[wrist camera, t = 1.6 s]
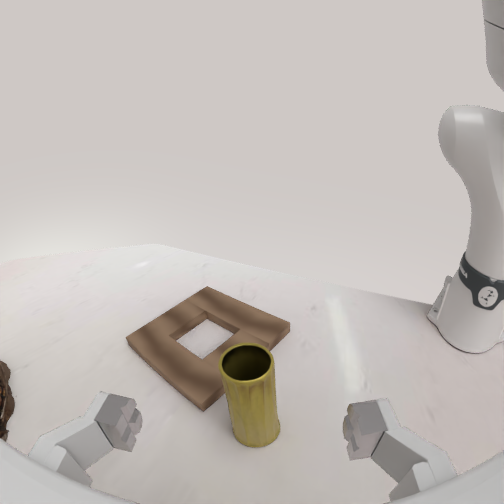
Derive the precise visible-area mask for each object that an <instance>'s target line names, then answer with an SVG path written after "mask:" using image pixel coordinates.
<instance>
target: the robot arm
mask: <svg viewBox="0 0 504 504" xmlns="http://www.w3.org/2000/svg"><path fill="white" fill-rule="evenodd" d="M482 6H483V15H484V25H485V36H486V57H487V58H486V59H487V67H488V70H489V72H490V75H491V76H492V78H493V80H494V81H495V82H496V84H497V85H498V86H499V87H500V88H501V89H502V90H503V91H504V0H482ZM438 136H439V143H440V147H441V150H442V152H443V154H444V156H445V158H446V160H447V161H448V163H449V164H450V165H451V166H452V167H453V168H454V169H455V171H456V172H457V173H458V174H459V176H460V177H461V179H462V180H463V182H464V184H465V186H466V189H467V191H468V194H469V198H470V202H471V212H472V215H471V227H470V234H469V240H468V245H467V249H466V252H465V253H464V254H463V257H462V259H461V262H460V267H459V270H457V272H456V274H455V275H454V277H453V278H452V277H450V276H447V277H446V280H445V283H444V288H443V289H442V291H441V293H440V294H439V296H438V298H437V299H436V301H435V303H434V304H433V306H432V308H431V309H430V311H429V313H428V315H427V317H428V319H429V320H430V321H431V322H433V323H434V324H435V325H436V326H437V327H438V329H439V331H440V333H441V334H442V336H443V337H444V338H445V339H446V340H447V341H448V342H449V343H450V344H452V345H453V346H455V347H456V348H458V349H460V350H463V351H466V352H470V353H482V352H485V351H487V350H489V349H491V348H492V347H493V346H494V345H495V344H496V343H500V342H502V341H504V112H500V111H496V110H493V109H488V108H485V107H480V106H470V105H469V106H468V105H462V106H451V107H449V108H448V109H447V110H446V112H445V113H444V114H443V116H442V118H441V121H440V124H439V132H438ZM136 405H137V404H136V402H135V400H134V399H132V398H127V397H123V396H119V395H114V394H110V393H106V392H102V391H101V392H99V393H98V394H97V395H96V397H95V398H94V400H93V402H92V403H91V405H90V406H89V408H88V410H87V411H86V413H85V415H84V416H83V417H81V416H80V417H78V418H76V419H74V420H72V421H70V422H68V423H66V424H64V425H62V426H60V427H58V428H56V429H54V430H52V431H50V432H48V433H46V434H44V435H42V436H40V437H39V439H38V440H37V442H36V444H35V445H34V447H33V448H32V450H31V451H30V453H29V454H28V456H27V455H25V454H24V453H22V452H20V451H19V450H17V449H16V448H14V447H13V446H11V445H10V444H8V443H7V442H5V441H4V440H2V439H1V438H0V504H139V503H136V502H132V501H129V500H125V499H122V498H119V497H116V496H113V495H110V494H107V493H104V492H102V491H99V490H96V489H94V488H91V487H90V485H91V483H92V479H91V477H90V476H89V475H88V474H87V473H86V472H85V470H86V469H87V468H89V467H90V466H91V465H93V464H94V463H95V462H97V461H98V460H99V459H101V458H102V457H103V456H105V455H106V454H107V453H109V452H110V451H111V450H112V449H113V448H116V449H120V450H125V451H129V452H132V450H133V447H134V445H135V442H136V438H135V435H136V434H138V433H139V432H140V430H141V427H142V416H141V413H140V411H138V410H137V409H136V408H135V407H136ZM347 412H348V415H347V416H346V417H345V418H344V422H343V434H344V439H346V440H347V441H348V442H349V443H348V445H347V451H348V455H349V459H350V460H357V459H363V458H368V457H371V459H372V460H373V461H374V462H375V463H376V464H378V465H379V466H380V467H381V468H382V469H383V470H384V471H385V472H386V473H388V474H389V475H390V476H391V477H392V478H393V479H394V480H396V481H397V482H398V484H397V486H396V487H395V488H394V489H393V490H392V491H391V492H390V494H389V497H390V501H391V502H387V503H384V504H504V450H503V451H501V452H500V453H498V454H497V455H495V456H493V457H492V458H490V459H488V460H487V461H485V462H483V463H481V464H480V465H478V466H476V467H474V468H472V469H470V470H468V471H466V472H464V473H462V474H460V475H457V473H456V471H455V469H454V466H453V464H452V462H451V460H450V458H449V456H448V454H447V452H446V451H444V450H442V449H440V448H439V447H437V446H435V445H434V444H432V443H430V442H429V441H427V440H425V439H424V438H422V437H420V436H419V435H417V434H415V433H414V432H412V431H411V430H409V429H407V428H406V427H401V426H400V423H399V421H398V419H397V417H396V415H395V412H394V410H393V408H392V406H391V404H390V401H389V399H387V398H383V399H378V400H371V401H365V402H359V403H352V404H349V406H348V408H347Z"/></svg>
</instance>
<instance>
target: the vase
mask: <svg viewBox="0 0 504 504" xmlns="http://www.w3.org/2000/svg"><path fill="white" fill-rule="evenodd" d="M218 369H219V371H220V374H221V378H222V382H223V386H224V389H225V393H226V397H227V401H228V407H229V413H230V417H231V422H232V425H233V433H234V435H235V437H236V439H237V440H238V441H239V442H241V443H242V444H244V445H246V446H249V447H263V446H266V445H268V444H270V443H272V442H273V441H274V440H275V439H276V438H277V436H278V435H279V432H280V422H279V419H278V415H277V405H276V391H275V369H274V359H273V356H272V354H271V353H270V351H269V350H268V349H267V348H265V347H264V346H262V345H260V344H257V343H239V344H236V345H233V346H231V347H230V348H228V349H227V350H226V351H224V353H223V354H222V355H221V357H220V359H219V363H218Z"/></svg>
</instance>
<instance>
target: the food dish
mask: <svg viewBox="0 0 504 504" xmlns="http://www.w3.org/2000/svg"><path fill="white" fill-rule="evenodd" d="M10 373H11V372H10V369H9V368H8V367H7V364H6V363H4V362H2V361H0V438H1V439H2V440H4V441H5V442H6V439H7V432H8V431H9V430H6V424H7V421H8V420H9V418H10V417H11V415H12V414H13V411H14V406H15V403H14V398H13V397H12V391H11V388H10V387H9V385H8V380H9V378H10Z"/></svg>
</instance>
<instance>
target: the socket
mask: <svg viewBox="0 0 504 504" xmlns="http://www.w3.org/2000/svg"><path fill="white" fill-rule="evenodd" d="M206 319H209V320H211V321H213V322H214V323H216V324H218V325H220V326H222V327H223V328H225V329H227V330H229V331H231V332H233V333H234V335H233V336H232V337H230V338H229V339H228V340H227V341H225V342H224V343H223V344H222V345H220V346H219V347H218V348H217V349H215V350H214V351H213V352H212V353H210V354H209V355H208V356H207V357H205V358H204V359H203V360H202V359H200V358H199V357H197V356H196V355H194V354H193V353H192V352H190V351H189V350H187V349H186V348H185V347H183V346H182V345H181V344H179V343H178V342H176V340H177V339H179V338H180V337H181V336H183V335H184V334H186V333H187V332H189V331H190V330H191V329H193V328H194V327H196V326H197V325H199V324H200V323H201V322H203V321H204V320H206ZM289 332H290V322H287V321H285V320H282V319H280V318H278V317H275V316H273V315H271V314H268V313H266V312H264V311H261V310H259V309H257V308H254V307H252V306H250V305H247V304H245V303H243V302H241V301H238V300H236V299H234V298H232V297H230V296H227V295H225V294H223V293H221V292H219V291H216V290H214V289H212V288H210V287H208V286H207V287H205V288H204V289H202V290H200V291H199V292H197V293H196V294H194V295H192V296H191V297H189V298H188V299H186V300H184V301H183V302H181V303H180V304H178V305H177V306H175V307H173V308H172V309H170V310H169V311H167V312H165V313H164V314H162V315H161V316H159V317H157V318H156V319H154V320H153V321H151V322H149V323H148V324H146V325H145V326H143V327H141V328H140V329H138V330H137V331H135V332H133V333H132V334H130V335H129V336H127V337H126V339H127V341H128V344H129V345H130V346H131V347H132V348H133V349H134V350H135V351H136V352H137V353H138V354H139V355H140V356H141V357H142V358H143V359H144V360H145V361H146V362H147V363H148V364H149V365H150V366H151V367H152V368H153V369H154V370H155V371H156V372H157V373H158V374H160V375H161V376H162V377H163V378H164V379H165V380H166V381H167V382H168V383H170V384H171V385H172V386H173V387H174V388H175V389H177V390H178V391H179V392H180V393H181V394H182V395H184V396H185V397H186V398H187V399H188V400H190V401H191V402H192V403H193V404H195V405H196V406H197V407H198V408H200V409H201V410H202V411H205V410H206V409H207V408H208V407H209V406H211V405H212V404H213V403H214V402H215V401H216V400H218V399H219V398H220V397H221V396H222V395H223V394H224V393H225V389H224V386H223V382H222V378H221V374H220V371H219V369H218V363H219V359H220V357H221V355H222V354H223V353H224V351H226V350H227V349H228V348H230V347H231V346H233V345H236V344H239V343H257V344H260V345H262V346H264V347H265V348H267V349H268V350H269V351H271V350H272V349H273V348H274V347H275V346H276V345H277V344H278V343H279V342H280V341H281V340H282V339H283V338H284V337H285V336H286V335H287V334H288V333H289Z"/></svg>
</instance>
